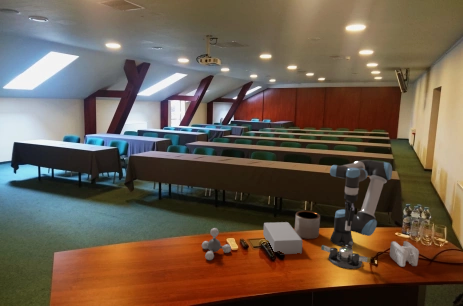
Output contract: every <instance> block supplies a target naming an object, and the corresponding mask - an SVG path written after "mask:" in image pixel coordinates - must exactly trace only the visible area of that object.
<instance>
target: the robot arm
mask: <svg viewBox="0 0 463 306" xmlns="http://www.w3.org/2000/svg"><path fill="white" fill-rule="evenodd" d="M329 174H330V176H331V177H335V178H340V179H345V186H344V197H343V199H344V200H345V201H344V209H338V210H336V211H335V214H334V215H335V216H334V225H333V231H332V234H331V236H330V242H331V243H332V244H334V245H337V246H339V247H345V244H349V242H350V241H352V242H353V243H354V240H353V236H352V232H353V233H356V234H360V235H362V236H366V237H367V236H368V237H370V236H372V235H373V234H374V233H375V231H376V228H377V225H378V221H377V220H376V216H375V213H376V210H377V205H378V203H379V200H380V196H381V193H382V190H383V188H384V184H386V183H387V182H388V181H389V180H391V179H392V175H393V167H392V164H391V163H390V162H385V161H379V160H378V161H377V160H371V159H364V160H363V159H362V160H356V161H354V162H352V163H347V164H343V165H337V164H333V165H331V167H330V168H329ZM367 178H369V179H370V182H369V184H368V187H367V191H366V193H365V197H364V199H363V203H362V206H361V209H360V210H359V211H357V213H356V214H355V212H356V207H355V202H357V201H358V195H359V190H360V187H359V186H360V185H359V184H360V182H363V181H365V180H367Z"/></svg>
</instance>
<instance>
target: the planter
mask: <svg viewBox="0 0 463 306" xmlns="http://www.w3.org/2000/svg"><path fill="white" fill-rule="evenodd" d="M294 220H295V221H294V230H295V232H296V233H297V234H298V235H299V237H300V238H301V239H306V240H313V239H316V238H318V237H319V235H320V222H321V215H320V214H319V213H317V212H314V211H311V210H300V211H297V212H296V213H295V219H294Z"/></svg>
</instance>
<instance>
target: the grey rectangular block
mask: <svg viewBox="0 0 463 306" xmlns="http://www.w3.org/2000/svg"><path fill="white" fill-rule="evenodd" d="M320 248H321V249H320V250H321V251H323V252H327V253H329V254H330V259H333V260H336V259H337V252H338V249H339V248H337V247H334V246H333V247H330V246H327V245H324V244H322V245H321V247H320Z"/></svg>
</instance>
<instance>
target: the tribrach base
mask: <svg viewBox="0 0 463 306" xmlns="http://www.w3.org/2000/svg"><path fill="white" fill-rule="evenodd" d="M338 249H339V251H338V252H337V259H336V260H333V259H330V253H329V254H328V261H329V262H330V263H331V264H333V265H334V266H336V267H338V268H341V269H345V270H356V269H360V268H361V267H362V266H363V261H359V265H358V266H354V265H352V264H351V258H352V253H354V250H353V248H352V249H350V248H347V247H345V246H340V247H339V248H338Z"/></svg>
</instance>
